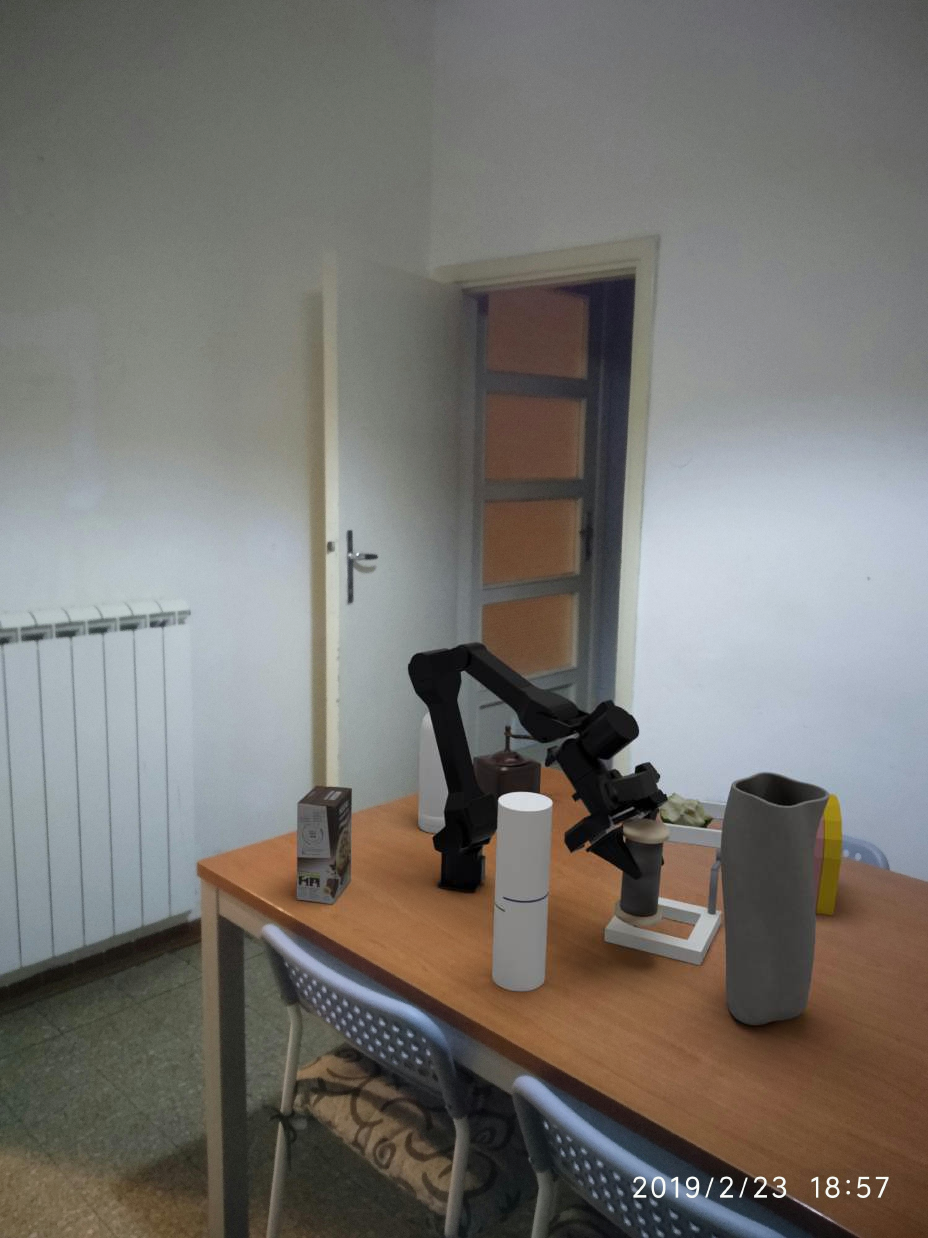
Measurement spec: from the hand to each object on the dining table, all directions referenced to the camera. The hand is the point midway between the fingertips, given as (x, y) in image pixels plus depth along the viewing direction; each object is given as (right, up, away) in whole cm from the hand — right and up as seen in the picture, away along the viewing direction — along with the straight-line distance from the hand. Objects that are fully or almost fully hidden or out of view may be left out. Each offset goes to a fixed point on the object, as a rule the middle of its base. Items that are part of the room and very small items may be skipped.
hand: (650, 872), depth 131 cm
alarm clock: (+29, -11, +24) cm, 40 cm away
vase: (+12, -16, -9) cm, 22 cm away
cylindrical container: (-18, -14, -2) cm, 23 cm away
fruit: (+16, -6, +51) cm, 54 cm away
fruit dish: (+18, -5, +52) cm, 55 cm away
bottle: (-31, -5, +50) cm, 59 cm away
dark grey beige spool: (-1, -7, +2) cm, 7 cm away
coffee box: (-48, -9, +22) cm, 54 cm away
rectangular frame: (+5, -12, +12) cm, 17 cm away
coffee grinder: (-15, -3, +64) cm, 65 cm away
